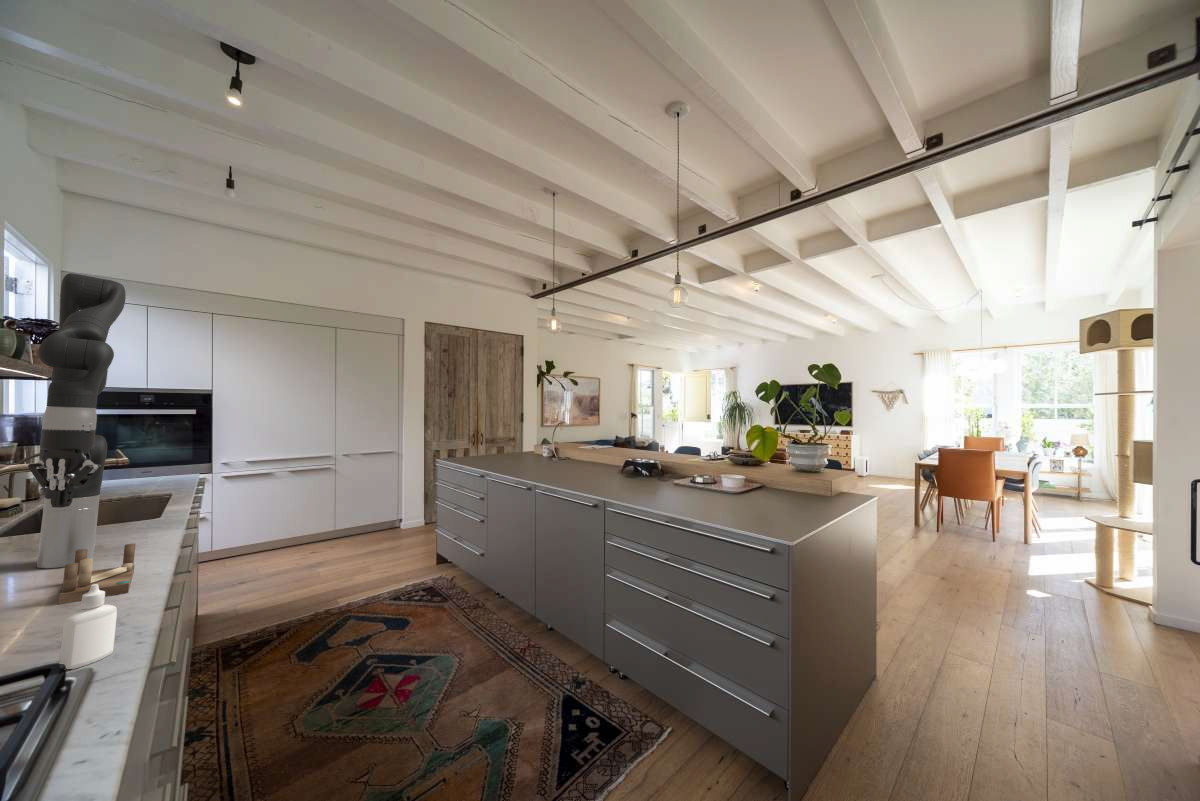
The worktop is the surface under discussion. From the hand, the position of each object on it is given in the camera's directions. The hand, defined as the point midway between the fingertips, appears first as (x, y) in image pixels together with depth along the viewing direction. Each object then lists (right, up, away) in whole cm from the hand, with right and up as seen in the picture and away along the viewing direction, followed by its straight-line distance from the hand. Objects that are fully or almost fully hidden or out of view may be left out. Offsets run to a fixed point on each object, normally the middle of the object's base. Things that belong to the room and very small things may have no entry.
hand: (61, 506), depth 94 cm
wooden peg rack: (+5, -19, +3) cm, 20 cm away
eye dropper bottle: (+36, -19, -25) cm, 48 cm away
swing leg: (+6, -17, +3) cm, 18 cm away
